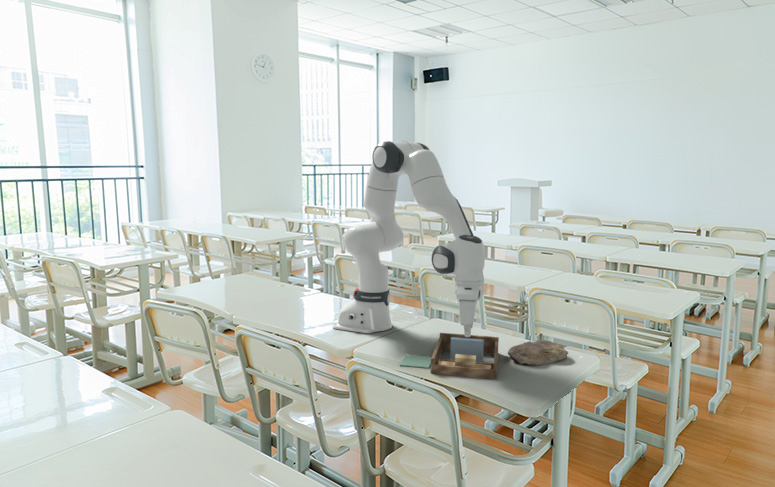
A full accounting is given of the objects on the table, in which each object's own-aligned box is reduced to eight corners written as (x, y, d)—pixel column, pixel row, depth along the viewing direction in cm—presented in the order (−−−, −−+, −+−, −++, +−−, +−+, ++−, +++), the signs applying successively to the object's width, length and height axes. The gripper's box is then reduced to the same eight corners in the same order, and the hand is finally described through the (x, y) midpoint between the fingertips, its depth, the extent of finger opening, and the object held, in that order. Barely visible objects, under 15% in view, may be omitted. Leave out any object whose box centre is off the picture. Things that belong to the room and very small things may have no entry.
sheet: (450, 360, 171) (450, 339, 170) (450, 358, 173) (451, 337, 172) (482, 363, 169) (483, 341, 168) (482, 361, 171) (483, 339, 170)
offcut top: (454, 365, 160) (455, 357, 160) (455, 361, 163) (455, 353, 163) (475, 367, 159) (475, 359, 159) (475, 363, 162) (476, 355, 162)
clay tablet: (523, 370, 163) (574, 360, 172) (523, 355, 163) (574, 345, 171) (495, 356, 176) (544, 347, 184) (495, 342, 176) (544, 333, 184)
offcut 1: (437, 372, 162) (437, 364, 161) (438, 368, 164) (438, 360, 164) (457, 374, 160) (457, 365, 160) (458, 370, 163) (458, 362, 163)
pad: (399, 365, 166) (399, 364, 166) (405, 355, 174) (405, 354, 174) (429, 368, 164) (429, 367, 164) (433, 358, 172) (433, 356, 172)
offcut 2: (469, 375, 160) (470, 366, 159) (470, 371, 163) (471, 363, 162) (490, 377, 158) (490, 368, 158) (491, 373, 161) (491, 365, 161)
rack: (430, 373, 160) (431, 355, 159) (439, 348, 181) (440, 332, 181) (496, 379, 156) (497, 360, 155) (498, 353, 177) (498, 337, 176)
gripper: (461, 281, 178) (461, 322, 180) (456, 295, 158) (455, 341, 160) (481, 282, 177) (480, 323, 178) (478, 296, 157) (477, 342, 159)
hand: (468, 332), depth 169 cm, fingers open, 8 cm apart
